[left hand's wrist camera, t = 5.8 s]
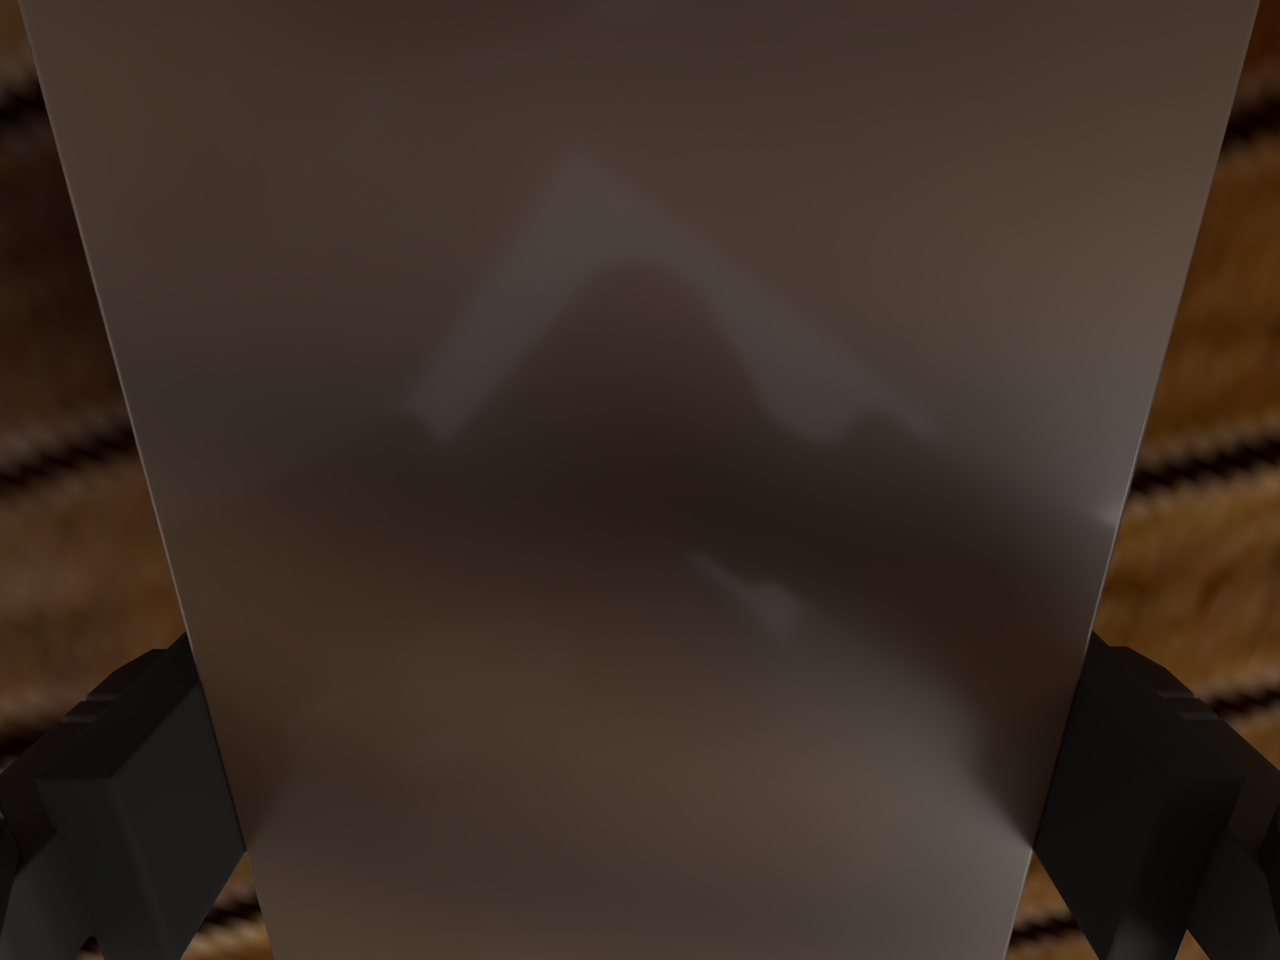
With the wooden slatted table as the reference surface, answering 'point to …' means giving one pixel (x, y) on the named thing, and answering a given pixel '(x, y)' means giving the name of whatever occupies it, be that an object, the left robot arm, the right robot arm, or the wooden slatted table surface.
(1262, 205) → the wooden slatted table surface
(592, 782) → the cabinet
